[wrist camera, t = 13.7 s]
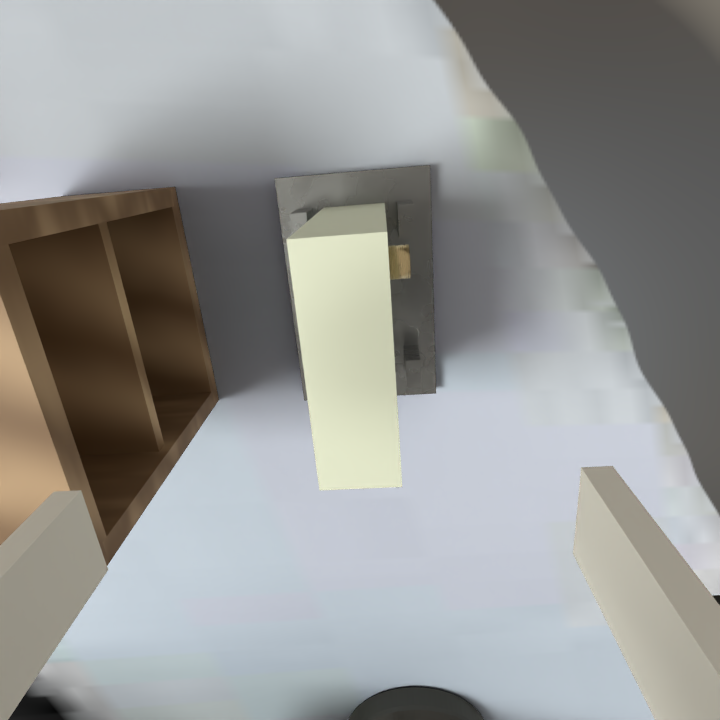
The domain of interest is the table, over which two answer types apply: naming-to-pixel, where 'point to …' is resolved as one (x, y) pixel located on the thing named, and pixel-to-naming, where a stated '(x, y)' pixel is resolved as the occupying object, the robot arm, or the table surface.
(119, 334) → the cabinet
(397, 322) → the grey pegged base plate
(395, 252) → the door panel
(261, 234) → the table surface
